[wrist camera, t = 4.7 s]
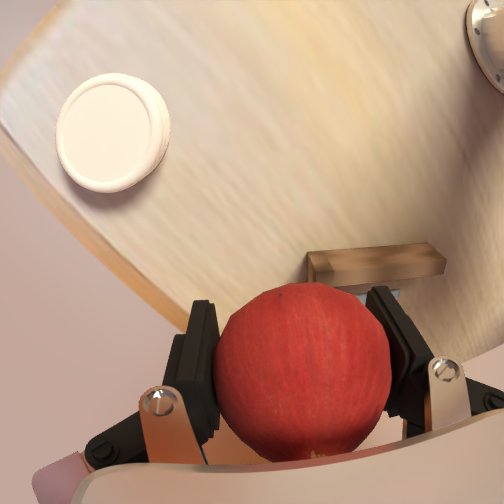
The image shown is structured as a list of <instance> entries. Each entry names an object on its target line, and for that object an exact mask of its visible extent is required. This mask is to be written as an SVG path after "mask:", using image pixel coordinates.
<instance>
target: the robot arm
mask: <svg viewBox="0 0 504 504" xmlns="http://www.w3.org/2000/svg"><path fill="white" fill-rule="evenodd" d="M466 24H467V32H468V37H469V41H470V44H471V47H472V50H473V53H474V55H475V57H476V60H477V62H478V64H479V66H480V67H481V69H482V71H483V73H484V74H485V76H486V77H487V78H488V80H489V81H490V82H491V83H492V84H493V86H494V87H495V88H496V89H498V90H499V91H500V92H501V93H503V94H504V4H503V3H502V2H500V1H498V0H474V1H473V2H472V3H471V4H470V6H469V8H468V11H467V21H466ZM365 307H366V308H367V309H368V310H369V311H370V312H371V313H372V314H373V315H374V316H375V318H376V319H377V320H378V321H379V322H380V323H381V324H382V326H383V328H384V331H385V334H386V336H387V339H388V342H389V349H390V360H391V371H392V381H391V388H390V393H389V396H388V399H387V401H386V404H385V407H384V409H383V411H387V413H388V415H389V417H390V418H391V417H394V416H398V415H400V417H401V418H402V419H403V431H402V440H401V441H398V442H394V443H390V444H386V445H382V446H378V447H374V448H369V449H365V450H360V451H355V452H350V453H345V454H340V455H334V456H328V457H321V458H314V459H306V460H298V461H289V462H278V463H264V464H242V465H209V464H208V461H207V459H206V456H205V453H204V450H203V448H202V445H203V444H204V443H206V442H207V441H208V438H213V436H214V435H213V434H214V430H219V422H220V410H219V407H218V403H217V400H216V395H215V389H214V382H213V370H212V356H213V354H214V351H215V349H216V346H217V344H218V341H219V339H220V334H219V328H218V322H217V316H216V310H215V305H214V303H209V300H194V302H193V305H192V310H191V314H190V318H189V322H188V327H187V331H186V334H176V335H175V337H174V340H173V343H172V347H171V351H170V355H169V359H168V363H167V367H166V371H165V375H164V379H163V383H162V386H156V387H153V388H150V389H149V390H147V391H146V392H145V393H144V394H143V395H142V396H141V398H140V401H139V411H138V412H136V413H134V414H133V415H131V416H129V417H128V418H126V419H124V420H123V421H121V422H119V423H118V424H116V425H114V426H113V427H111V428H109V429H108V430H106V431H104V432H102V433H101V434H99V435H97V436H95V437H94V438H92V439H91V440H90V441H89V442H88V444H87V445H86V448H85V451H84V452H82V453H79V452H78V451H77V452H75V453H73V454H71V455H69V456H67V457H65V458H63V459H61V460H59V461H57V462H55V463H52V464H50V465H48V466H46V467H44V468H42V469H40V470H38V471H37V472H35V474H34V476H33V478H32V487H33V490H34V492H35V495H36V497H37V500H38V502H39V504H504V392H502V391H501V390H498V389H496V388H493V387H490V386H488V385H485V384H482V383H480V382H477V381H474V380H472V379H469V378H466V377H465V374H464V370H463V367H462V365H461V364H460V363H459V362H458V361H457V360H456V359H454V358H452V357H450V356H438V357H434V355H433V353H432V352H431V350H430V349H429V347H428V345H427V344H426V342H425V340H424V339H423V337H422V336H421V334H420V333H419V331H418V329H417V328H416V326H415V325H414V323H413V322H412V320H411V319H410V317H409V316H408V315H406V314H405V312H404V311H403V309H402V308H401V306H400V305H399V303H398V302H397V300H396V299H395V297H394V296H393V294H392V293H391V291H390V290H389V289H388V287H387V286H376V287H372V289H371V291H368V292H367V296H366V303H365Z"/></svg>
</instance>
